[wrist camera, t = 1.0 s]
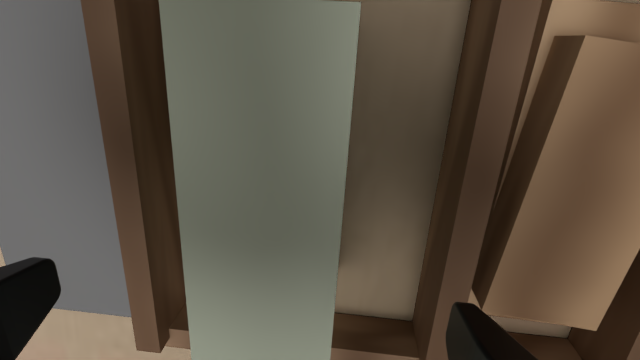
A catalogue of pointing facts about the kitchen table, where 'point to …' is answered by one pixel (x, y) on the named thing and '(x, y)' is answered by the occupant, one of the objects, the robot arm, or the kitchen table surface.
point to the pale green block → (260, 168)
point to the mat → (56, 156)
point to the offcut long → (553, 20)
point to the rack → (447, 217)
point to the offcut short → (569, 190)
